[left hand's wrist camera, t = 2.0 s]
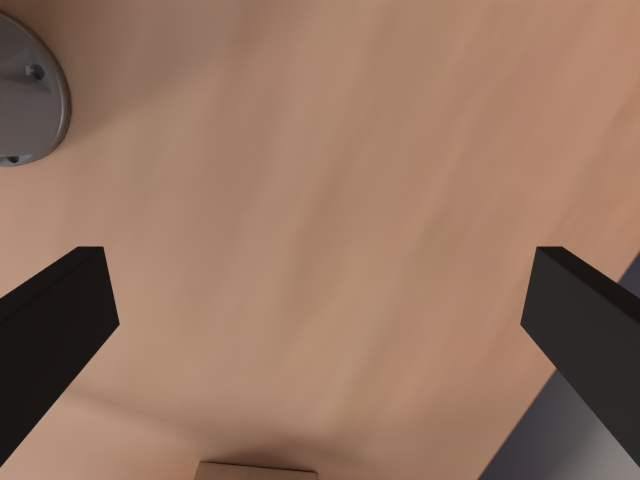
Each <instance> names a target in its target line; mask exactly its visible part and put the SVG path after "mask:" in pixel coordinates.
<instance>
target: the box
mask: <svg viewBox="0 0 640 480" xmlns="http://www.w3.org/2000/svg"><path fill="white" fill-rule="evenodd" d="M194 480H318V473H312V472H301V471H290V470H280V469H269V468H259V467H248V466H237V465H227V464H216V463H205V462H200V463H199V465H198V468H197V471H196V475H195V478H194Z"/></svg>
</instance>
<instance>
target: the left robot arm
mask: <svg viewBox="0 0 640 480" xmlns="http://www.w3.org/2000/svg"><path fill="white" fill-rule="evenodd" d="M70 114H71V101H70V94H69V89H68V85H67V82H66V79H65V76H64V74H63V71H62V69H61V67H60V65H59V63H58V62H57V60H56V58H55V57H54V55H53V54H52V52H51V51H50V50H49V48H48V47H47V46H46V45H45V43H44V42H43V41H42V40H41V39H40V38H39V37H38V36H37V35H36V34H35V33H34V32H32V31H31V30H30V29H29V28H27V27H26V26H25V25H23V24H22V23H20V22H19V21H17V20H15V19H14V18H12V17H10V16H8V15H5V14H3V13H0V167H9V166H19V165H23V164H27V163H30V162H34V161H37V160H39V159H41V158H43V157H45V156H47V155H48V154H50V153H51V152H52V151H53V150H55V148H56V147H57V146H58V145H59V144H60V142H61V141H62V139H63V138H64V136H65V134H66V131H67V129H68V125H69V121H70ZM119 325H120V323H119V319H118V314H117V309H116V304H115V300H114V295H113V290H112V286H111V281H110V276H109V271H108V267H107V262H106V257H105V252H104V248H103V247H77V248H75V249H74V250H72V251H71V252H69V253H68V254H66V255H65V256H63V257H62V258H60V259H59V260H57V261H56V262H54V263H53V264H51V265H50V266H48V267H47V268H45V269H44V270H42V271H41V272H39V273H38V274H36V275H35V276H33V277H32V278H30V279H29V280H27V281H26V282H24V283H23V284H21V285H20V286H18V287H17V288H15V289H14V290H12V291H11V292H9V293H8V294H6V295H5V296H3V297H2V298H0V467H1V466H2V465H3V464H4V463H5V461H6V460H7V459H8V458H9V457H10V455H11V454H12V453H13V452H14V451H15V449H16V448H17V447H18V446H19V445H20V443H21V442H22V441H23V440H24V439H25V437H26V436H27V435H28V434H29V433H30V431H31V430H32V429H33V428H34V427H35V425H36V424H37V423H38V422H39V421H40V419H41V418H42V417H43V416H44V415H45V413H46V412H47V411H48V410H49V409H50V407H51V406H52V405H53V404H54V403H55V401H56V400H57V399H58V398H59V397H60V395H61V394H62V393H63V392H64V391H65V389H66V388H67V387H68V386H69V385H70V383H71V382H72V381H73V380H74V379H75V377H76V376H77V375H78V374H79V373H80V371H81V370H82V369H83V368H84V367H85V365H86V364H87V363H88V362H89V361H90V359H91V358H92V357H93V356H94V355H95V354H96V352H97V351H98V350H99V349H100V348H101V346H102V345H103V344H104V343H105V342H106V340H107V339H108V338H109V337H110V336H111V334H112V333H113V332H114V331H115V330H116V328H117V327H118V326H119ZM520 325H521V326H522V327H523V328H524V330H525V331H526V332H527V333H528V334H529V336H530V337H531V338H532V339H533V340H534V342H535V343H536V344H537V345H538V346H539V348H540V349H541V350H542V351H543V352H544V354H545V355H546V356H547V357H548V358H549V360H550V361H551V362H552V363H553V364H554V365H555V367H556V368H557V369H558V370H559V371H560V373H561V374H562V375H563V376H564V377H565V379H566V380H567V381H568V382H569V383H570V385H571V386H572V387H573V388H574V389H575V391H576V392H577V393H578V394H579V395H580V397H581V398H582V399H583V400H584V401H585V403H586V404H587V405H588V406H589V407H590V409H591V410H592V411H593V412H594V413H595V415H596V416H597V417H598V418H599V419H600V421H601V422H602V423H603V424H604V425H605V427H606V428H607V429H608V430H609V431H610V433H611V434H612V435H613V436H614V437H615V439H616V440H617V441H618V442H619V443H620V445H621V446H622V447H623V448H624V449H625V451H626V452H627V453H628V454H629V455H630V457H631V458H632V459H633V460H634V461H635V463H636V464H637V465H638V466H639V467H640V298H638V297H637V296H635V295H634V294H632V293H631V292H629V291H628V290H626V289H625V288H623V287H622V286H620V285H619V284H617V283H616V282H614V281H613V280H611V279H610V278H608V277H607V276H605V275H604V274H602V273H601V272H599V271H598V270H596V269H595V268H593V267H592V266H590V265H589V264H587V263H586V262H584V261H583V260H581V259H580V258H578V257H577V256H575V255H574V254H572V253H571V252H569V251H568V250H566V249H565V248H563V247H537V248H536V252H535V257H534V262H533V267H532V271H531V276H530V281H529V286H528V290H527V295H526V300H525V304H524V309H523V314H522V319H521V323H520Z"/></svg>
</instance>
